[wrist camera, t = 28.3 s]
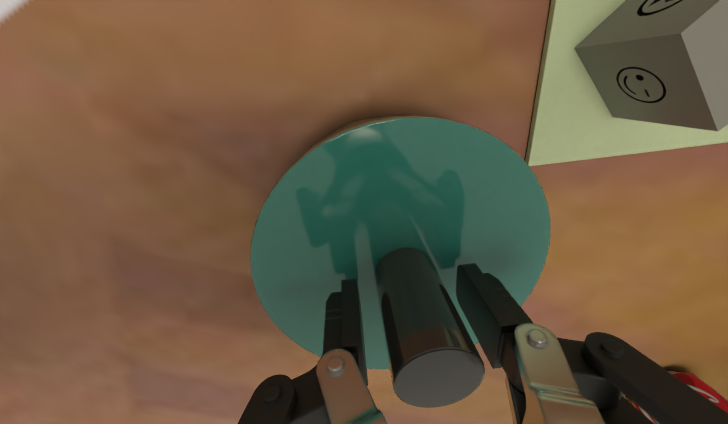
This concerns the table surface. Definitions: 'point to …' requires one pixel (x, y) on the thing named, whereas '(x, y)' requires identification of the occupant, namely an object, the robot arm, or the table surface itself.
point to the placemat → (589, 100)
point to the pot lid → (401, 244)
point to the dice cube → (662, 62)
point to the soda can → (697, 386)
